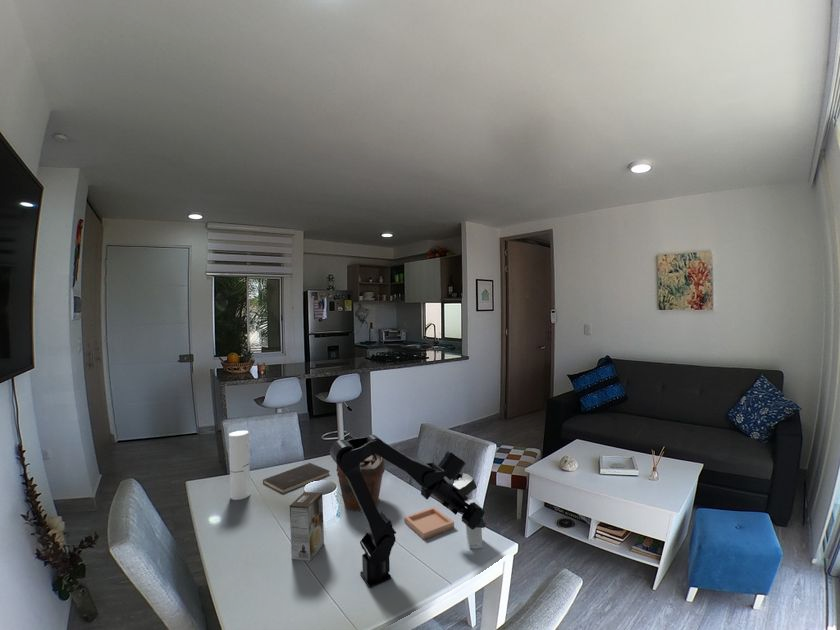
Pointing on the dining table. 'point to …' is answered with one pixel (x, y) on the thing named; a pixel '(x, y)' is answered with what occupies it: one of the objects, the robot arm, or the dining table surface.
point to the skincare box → (474, 532)
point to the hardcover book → (296, 477)
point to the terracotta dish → (429, 523)
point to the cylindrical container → (239, 464)
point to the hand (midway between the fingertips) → (475, 519)
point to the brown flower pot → (372, 477)
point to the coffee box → (306, 526)
